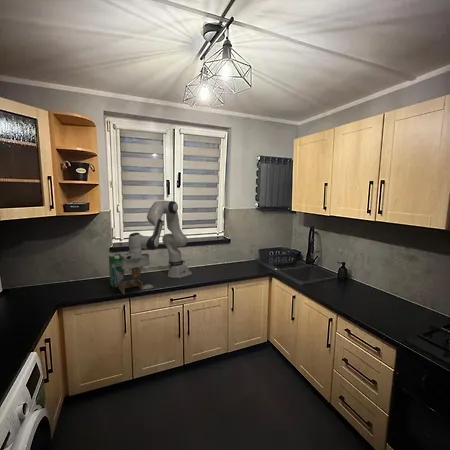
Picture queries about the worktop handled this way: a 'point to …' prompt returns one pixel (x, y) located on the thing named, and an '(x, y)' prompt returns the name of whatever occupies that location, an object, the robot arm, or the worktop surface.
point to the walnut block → (136, 272)
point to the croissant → (130, 285)
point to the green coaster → (147, 286)
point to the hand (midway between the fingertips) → (136, 273)
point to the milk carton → (116, 270)
